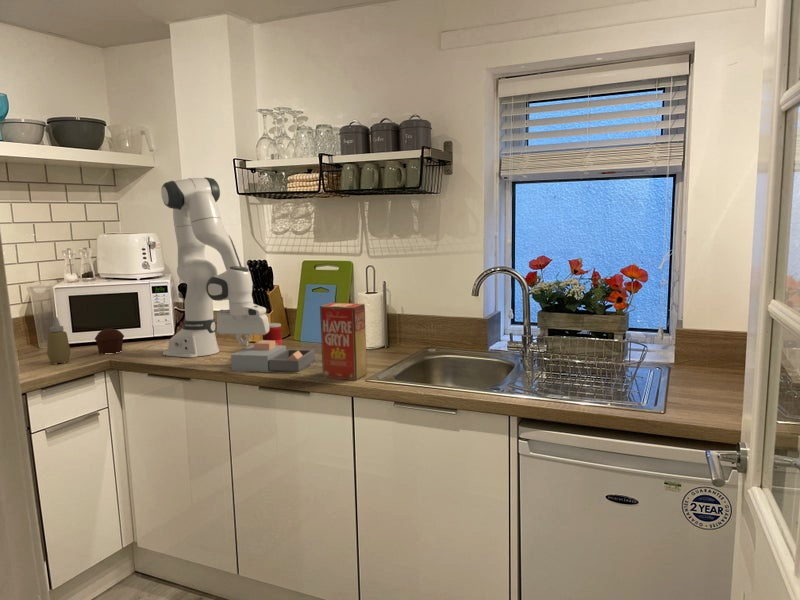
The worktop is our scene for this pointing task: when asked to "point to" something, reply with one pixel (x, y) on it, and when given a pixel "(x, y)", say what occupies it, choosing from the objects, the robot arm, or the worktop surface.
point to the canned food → (274, 333)
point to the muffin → (109, 341)
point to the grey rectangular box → (254, 358)
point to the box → (291, 361)
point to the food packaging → (343, 341)
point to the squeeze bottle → (58, 344)
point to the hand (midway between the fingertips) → (243, 345)
